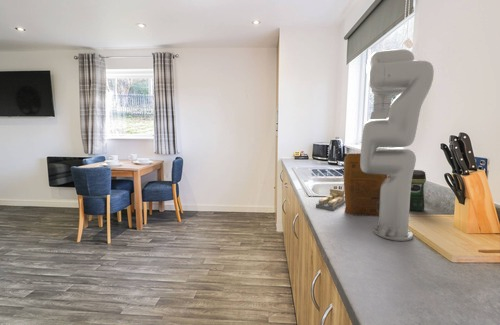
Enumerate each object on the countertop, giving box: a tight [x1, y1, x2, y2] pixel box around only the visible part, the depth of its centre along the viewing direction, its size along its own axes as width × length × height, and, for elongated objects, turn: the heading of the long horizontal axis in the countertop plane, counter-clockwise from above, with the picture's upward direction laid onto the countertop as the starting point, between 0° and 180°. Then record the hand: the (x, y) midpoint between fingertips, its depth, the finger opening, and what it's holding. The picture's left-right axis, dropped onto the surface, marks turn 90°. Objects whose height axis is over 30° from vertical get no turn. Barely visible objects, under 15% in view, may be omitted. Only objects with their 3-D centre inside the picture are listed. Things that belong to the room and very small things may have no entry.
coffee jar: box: [409, 169, 427, 212], centre depth 123 cm, size 10×8×19 cm
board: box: [315, 193, 345, 211], centre depth 135 cm, size 20×9×5 cm, turn 140°
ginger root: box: [318, 188, 345, 206], centre depth 133 cm, size 14×7×5 cm, turn 140°
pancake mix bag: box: [342, 152, 388, 217], centre depth 117 cm, size 7×19×28 cm, turn 77°
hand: (380, 146), depth 128 cm, fingers closed
